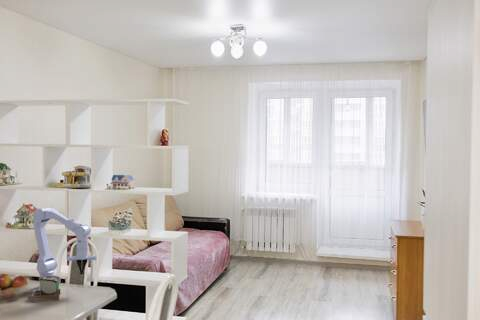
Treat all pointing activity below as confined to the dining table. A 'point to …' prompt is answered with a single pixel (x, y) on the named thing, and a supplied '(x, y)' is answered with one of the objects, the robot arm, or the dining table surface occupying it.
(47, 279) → the food container
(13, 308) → the dining table surface
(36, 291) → the bottom track
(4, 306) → the dining table surface
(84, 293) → the dining table surface
